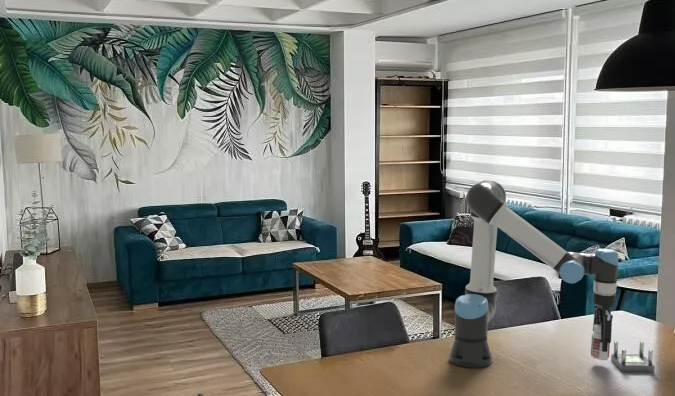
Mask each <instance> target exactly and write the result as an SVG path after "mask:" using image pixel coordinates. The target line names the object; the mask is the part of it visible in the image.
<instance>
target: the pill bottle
mask: <svg viewBox="0 0 675 396" xmlns="http://www.w3.org/2000/svg"><path fill="white" fill-rule="evenodd" d="M594 331H595V332H593V331H592V333H591V343H590V344H591V345H590V357H591V358H593V359H595V360H599V350H600V342H599V341H601V324H596V325H594ZM610 346H611V343H609V344H608V359H609V358H610V349H611V348H610Z"/></svg>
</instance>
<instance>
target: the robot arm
mask: <svg viewBox="0 0 675 396" xmlns="http://www.w3.org/2000/svg"><path fill="white" fill-rule="evenodd" d="M465 197H466V199H465V201H466V205H467V207H468V209H469V210H470V218H472V219H473V233H472V245H471V246H472V248H471V249H472V250H471V263H470V276H469V277H470V279H469V283H468V284H466V286H465V289H464V295H463V294H462V295H460V296H458V297H457V298H456V300H455V302H454V303H455V304H454V339H453V340H454V341H453V343H452V346H451V349H450V351H449V362H450V363H452V364H453V365H455V366H458V367H463V368H470V369H473V368H474V369H477V368H478V369H479V368H485V367H488V366H490V365H492V363H493V356H492V353H491V350H490V346H489V342H488V323H489V322H490V321H491V320H492V319H493V318H494V317H495V316H496V314H497V312H498V308H499V307H498V305H499V303H498V299H497V291H498V290H497V287H495V286H494V277H495V276H494V275H495V274H494V273H495V262H496V261H495V260H496V248H497V238H498V237H497V235H498V229H500V230H501V231H502V232H503V233H505V234H506V235H507V236H508V237H510V238H511V239H513V240H514V241H516V243H518V244H520V245H521V246H522V247H523V248H525V249H526V250H527V251H529V252H530V253H531V254H533V255H534V256H535V257H537V258H538V259H539V260H540V261H542V262H543V263H545V264H546V265H547V266H549V267H550V268H551V269H552V270H554V271H555V272H556V273H558V274H559V276H560V278H561V279H562V280H563V281H564V282H565V283H568V284H576V283H577V282H579V281H581V280H582V279H583V277H584V275H587V276H593V286H592V290H593V293H592V303H593V304H594V311H593V312H594V315H593V324H592V333H593V332H595V331H594V325H596V324H601V341H599V342H600V350H599V359H598V360H599V361H608V360H609V358H608V344H609V343H610V344H611V343H612V327H613V326H612V325H613V319H614V318H613V317H614V316H613V314H612V312H611V310H610V309H611V308H610V307H613V306H615V305H616V297H617V295H616V294H617V287H619V286H618V285H619V284H617V281H618V271H619V270H618V269H619V253H618V251H617V250H614V249H611V248H598V249H596V250H595V253H583V252H573V251H567V250H565V248H563V247H561V246H560V245H559V244H557V243H556V242H554V241H553V240H552V239H550V238H549V237H548V236H546V234H544V233H542V232H541V231H540V230H539V229H537V228H536V227H534V226H533V225H532V224H530V223H529V222H528V221H527V220H525V219H524V218H523V217H521V216H520V215H518V214H517V213H515V212H514V211H513V210H512V209H510V208H509V207H508V203H507V202H506V200H507V193H506V190H505V188H504V187H503V186H502V184H501V183H499V182H498V181H495V180H491V179H490V180H489V179H486V180H482V181H480V182H478V183H475V184H473V185H472V186H471V187H470V188H469V190H467V194H466V196H465Z"/></svg>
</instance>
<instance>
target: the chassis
mask: <svg viewBox="0 0 675 396" xmlns="http://www.w3.org/2000/svg"><path fill="white" fill-rule="evenodd" d="M644 347H645V343H644V341H640V342H639V351H638V354H637V353H634V354H633V353H632V354H631V353H627V349H624V348H622V349H621V353H619V341H616V340H615V341H613V353H611V355H610V356H611V357H610V361H611V362H612V363H613V364H614V365H615V367H616V368H617V369H618V370H619V371H620V372H621V373H636V374H637V373H643V374H648V373H649V374H654V373H655V367H656V366H655V365H654V364H653V357H654V356H653V354H654V350H653V349H648V353H647V354H648V357H646V356H645V355H644V352H645V351H644V349H645V348H644Z"/></svg>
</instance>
